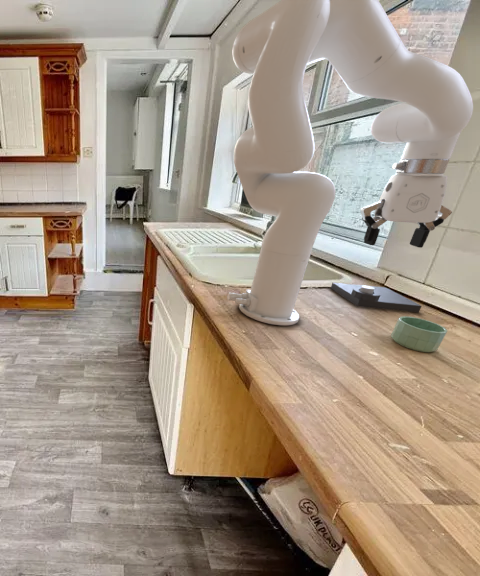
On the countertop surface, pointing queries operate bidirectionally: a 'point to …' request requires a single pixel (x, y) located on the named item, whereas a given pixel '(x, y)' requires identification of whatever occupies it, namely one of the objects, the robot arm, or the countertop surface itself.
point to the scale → (375, 298)
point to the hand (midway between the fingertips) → (391, 245)
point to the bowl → (418, 334)
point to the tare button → (367, 289)
